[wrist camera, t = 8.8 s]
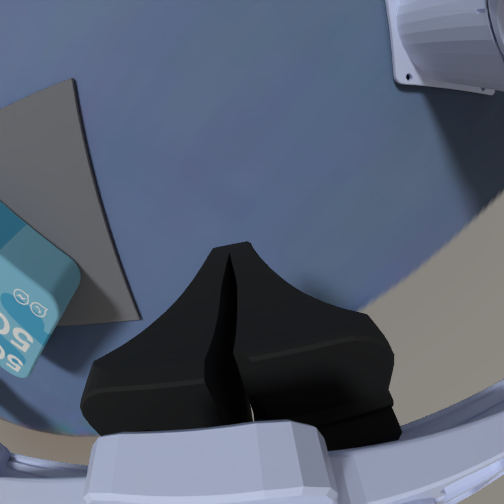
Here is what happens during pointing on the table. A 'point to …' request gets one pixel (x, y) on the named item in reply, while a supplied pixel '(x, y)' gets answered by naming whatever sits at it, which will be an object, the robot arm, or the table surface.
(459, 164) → the table surface
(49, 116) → the mat
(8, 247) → the data package
